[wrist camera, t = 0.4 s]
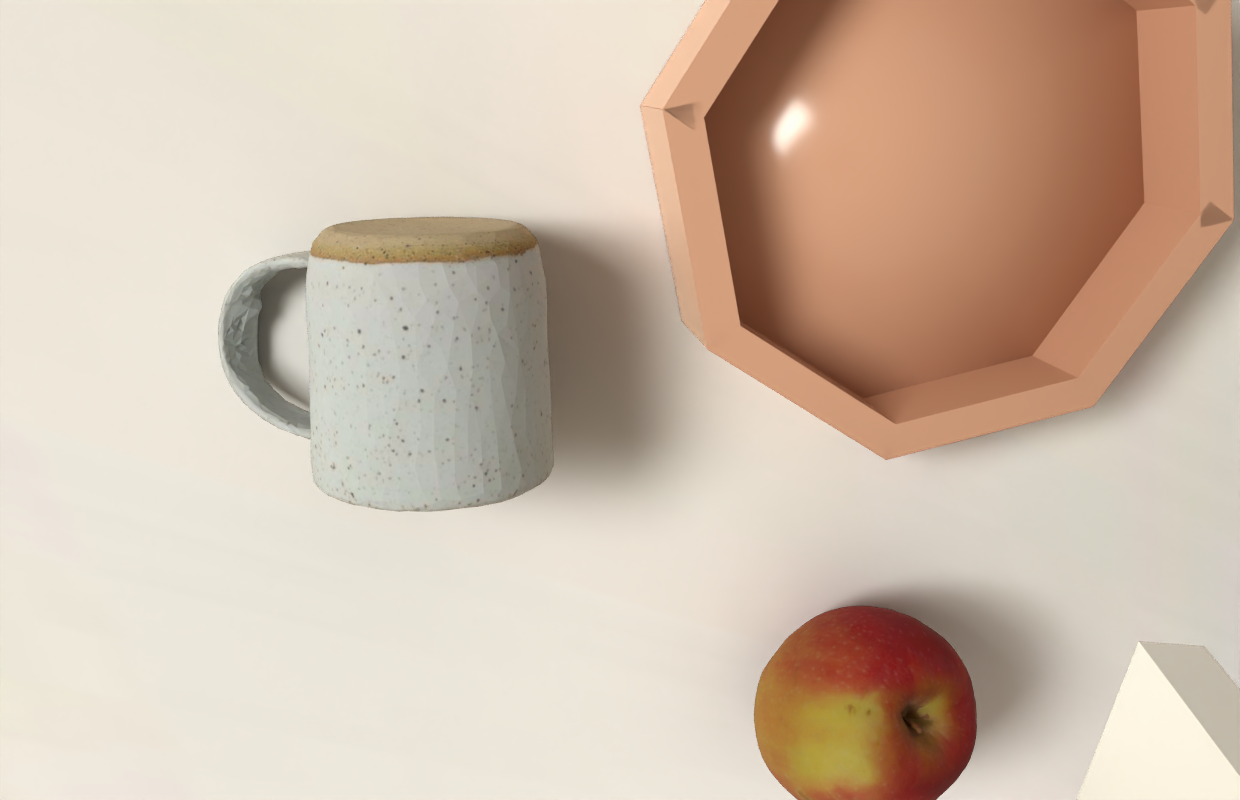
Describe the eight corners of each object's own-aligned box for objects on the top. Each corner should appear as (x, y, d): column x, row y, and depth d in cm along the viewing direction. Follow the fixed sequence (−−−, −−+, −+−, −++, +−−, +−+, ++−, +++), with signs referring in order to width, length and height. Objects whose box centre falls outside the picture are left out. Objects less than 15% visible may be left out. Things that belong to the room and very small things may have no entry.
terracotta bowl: (606, -67, 33) (626, -85, 29) (1143, -181, 34) (1228, -212, 31) (708, 457, 39) (735, 498, 35) (1163, 342, 40) (1235, 369, 37)
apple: (940, 689, 44) (1041, 817, 36) (764, 765, 44) (828, 910, 36) (891, 539, 41) (987, 644, 34) (703, 619, 41) (759, 743, 34)
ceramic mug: (537, 204, 35) (552, 236, 28) (546, 431, 38) (562, 516, 30) (213, 213, 34) (141, 250, 27) (244, 448, 36) (185, 541, 29)
